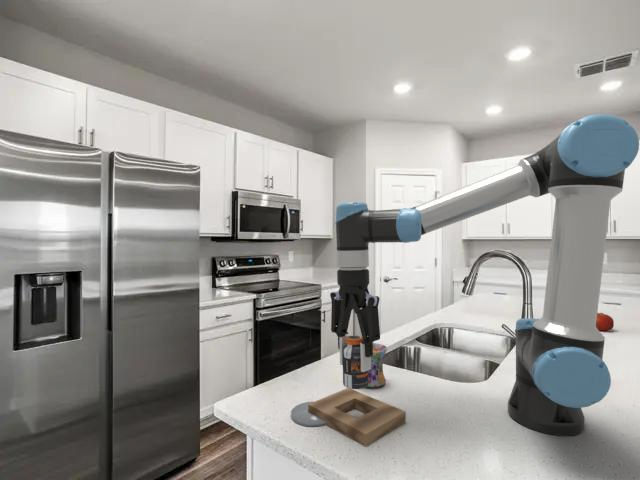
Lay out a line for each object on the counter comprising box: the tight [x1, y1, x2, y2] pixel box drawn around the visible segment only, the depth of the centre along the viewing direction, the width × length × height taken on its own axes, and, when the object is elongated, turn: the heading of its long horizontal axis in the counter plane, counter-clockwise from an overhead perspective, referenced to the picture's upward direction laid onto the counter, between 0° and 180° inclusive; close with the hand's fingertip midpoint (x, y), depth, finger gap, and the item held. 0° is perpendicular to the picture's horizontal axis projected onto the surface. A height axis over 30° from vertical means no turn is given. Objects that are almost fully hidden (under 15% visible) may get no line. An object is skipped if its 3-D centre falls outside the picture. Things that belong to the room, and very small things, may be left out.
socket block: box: [308, 387, 407, 447], centre depth 84 cm, size 18×14×2 cm
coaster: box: [290, 401, 328, 428], centre depth 86 cm, size 11×11×1 cm
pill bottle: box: [342, 335, 368, 390], centre depth 84 cm, size 6×6×11 cm
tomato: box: [596, 312, 615, 332], centre depth 163 cm, size 9×9×8 cm
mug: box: [366, 342, 388, 388], centre depth 106 cm, size 12×9×11 cm
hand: (355, 366), depth 84 cm, fingers closed on pill bottle, 6 cm apart
